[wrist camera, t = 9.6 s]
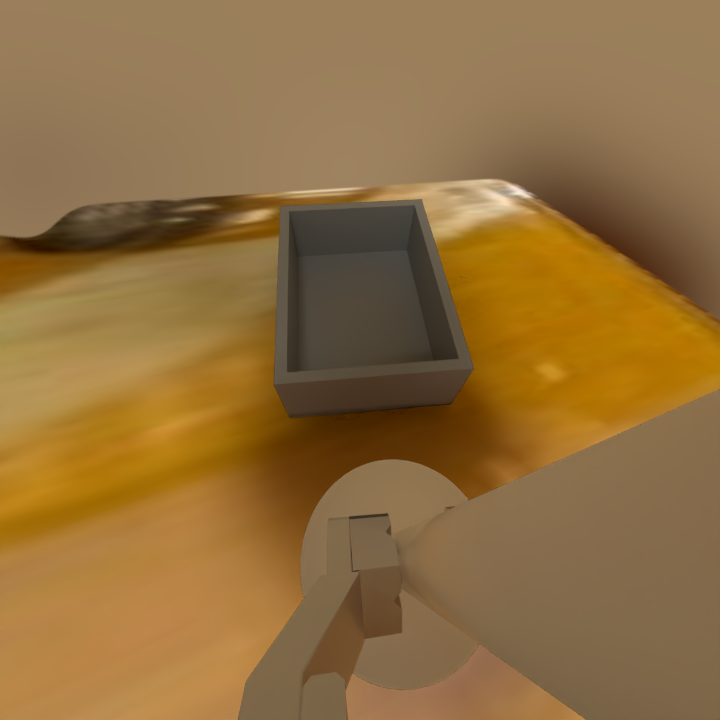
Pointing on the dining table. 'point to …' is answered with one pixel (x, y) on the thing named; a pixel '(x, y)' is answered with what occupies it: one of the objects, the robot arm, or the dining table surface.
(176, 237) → the dining table surface
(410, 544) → the pedestal dish
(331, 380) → the tray
